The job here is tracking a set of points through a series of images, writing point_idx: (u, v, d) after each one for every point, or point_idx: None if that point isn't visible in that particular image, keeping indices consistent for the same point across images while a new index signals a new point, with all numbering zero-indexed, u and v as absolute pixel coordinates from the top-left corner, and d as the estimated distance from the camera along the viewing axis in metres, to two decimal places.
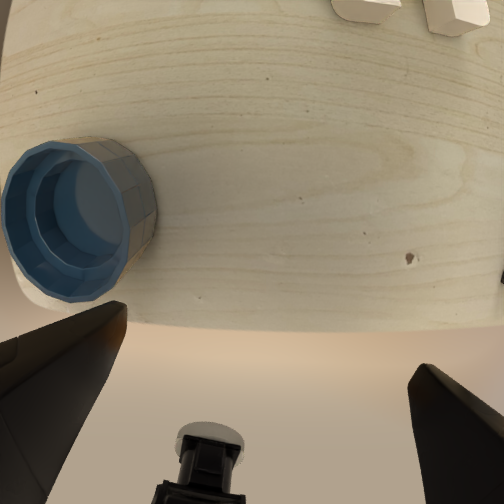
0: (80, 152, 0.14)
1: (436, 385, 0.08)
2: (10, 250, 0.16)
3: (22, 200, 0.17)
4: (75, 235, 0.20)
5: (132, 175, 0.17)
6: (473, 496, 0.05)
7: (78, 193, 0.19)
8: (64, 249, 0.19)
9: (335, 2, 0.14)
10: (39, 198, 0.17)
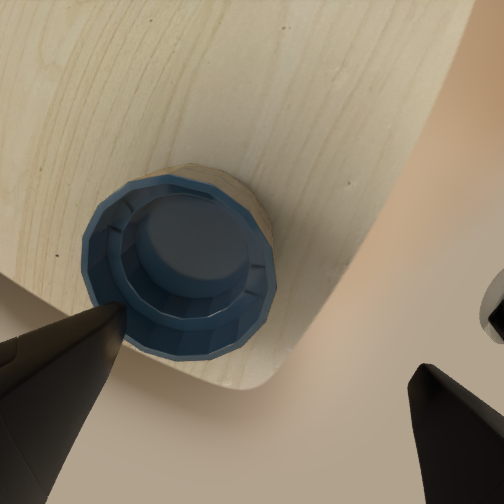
0: (107, 202, 0.13)
1: (436, 385, 0.08)
2: (172, 358, 0.16)
3: (136, 315, 0.17)
4: (211, 284, 0.19)
5: (169, 169, 0.15)
6: (473, 497, 0.05)
7: (169, 254, 0.19)
8: (216, 303, 0.18)
9: None
10: (147, 297, 0.18)
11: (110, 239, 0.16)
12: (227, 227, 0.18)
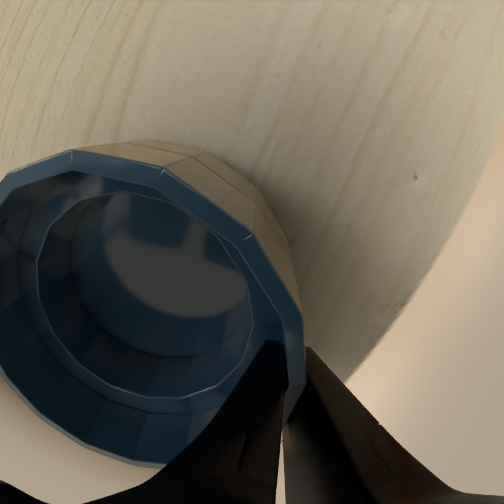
0: None
1: None
2: (128, 462, 0.08)
3: (74, 388, 0.09)
4: (189, 339, 0.12)
5: None
6: None
7: (121, 292, 0.11)
8: (197, 371, 0.11)
9: None
10: (89, 360, 0.10)
11: (22, 271, 0.08)
12: (213, 250, 0.10)
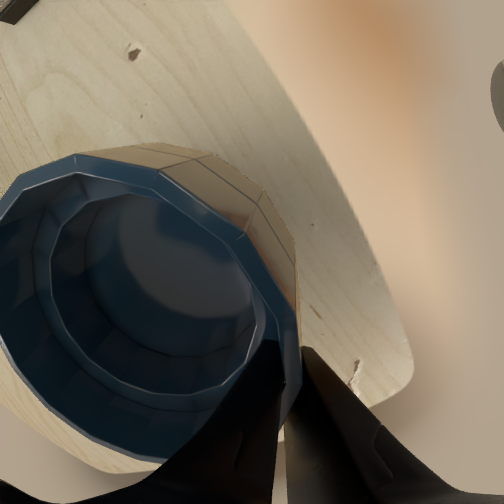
0: None
1: None
2: (132, 456, 0.09)
3: (84, 382, 0.10)
4: (199, 338, 0.12)
5: None
6: None
7: (133, 290, 0.11)
8: (205, 370, 0.11)
9: None
10: (100, 356, 0.11)
11: (36, 269, 0.09)
12: (221, 250, 0.11)
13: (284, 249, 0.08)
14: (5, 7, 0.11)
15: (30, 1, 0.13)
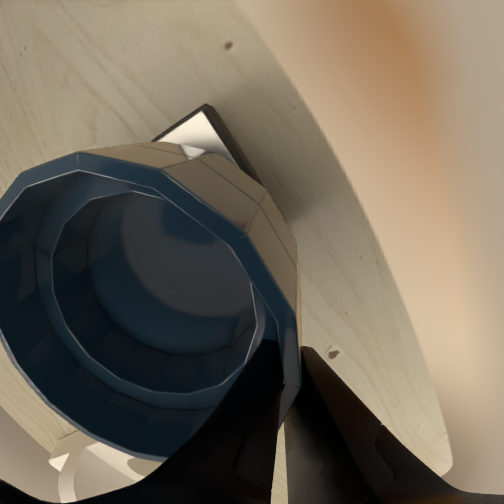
0: None
1: (302, 371, 0.07)
2: (130, 453, 0.09)
3: (84, 379, 0.10)
4: (200, 337, 0.12)
5: None
6: None
7: (135, 289, 0.12)
8: (205, 369, 0.11)
9: None
10: (100, 353, 0.11)
11: (38, 265, 0.09)
12: (223, 250, 0.11)
13: (286, 250, 0.08)
14: None
15: None
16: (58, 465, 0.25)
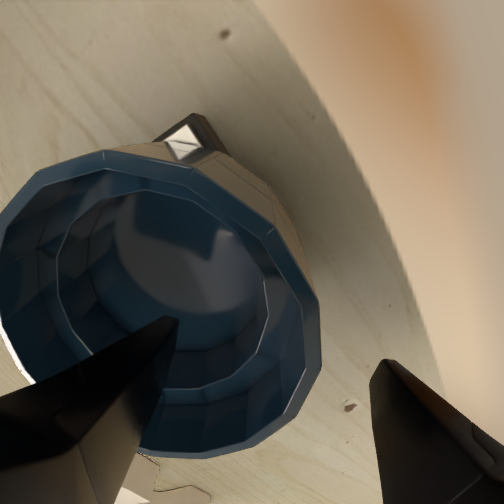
0: (9, 211, 0.06)
1: (395, 382, 0.07)
2: (146, 452, 0.09)
3: None
4: (204, 332, 0.12)
5: None
6: None
7: (138, 288, 0.12)
8: (212, 363, 0.11)
9: None
10: None
11: (41, 268, 0.09)
12: (227, 246, 0.11)
13: (296, 243, 0.08)
14: None
15: None
16: None
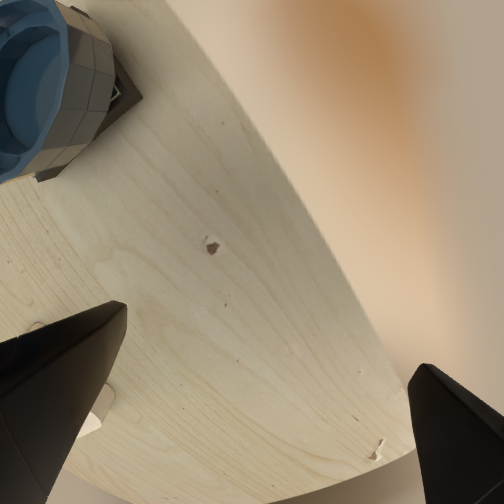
0: None
1: (436, 385, 0.08)
2: None
3: None
4: None
5: None
6: (472, 497, 0.05)
7: (27, 104, 0.14)
8: None
9: (110, 405, 0.24)
10: None
11: None
12: None
13: (87, 28, 0.10)
14: None
15: None
16: None
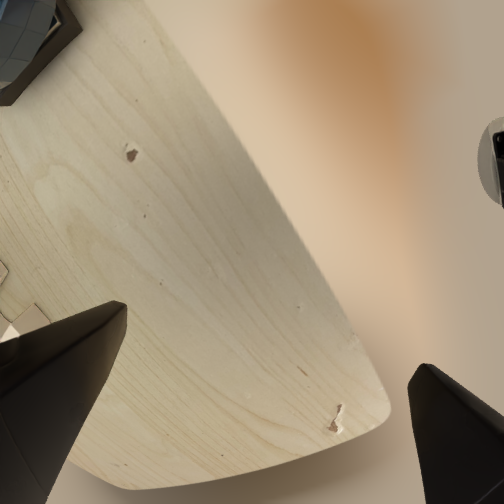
0: None
1: (436, 385, 0.08)
2: None
3: None
4: None
5: None
6: (473, 497, 0.05)
7: None
8: None
9: None
10: None
11: None
12: None
13: None
14: None
15: (22, 84, 0.16)
16: None
